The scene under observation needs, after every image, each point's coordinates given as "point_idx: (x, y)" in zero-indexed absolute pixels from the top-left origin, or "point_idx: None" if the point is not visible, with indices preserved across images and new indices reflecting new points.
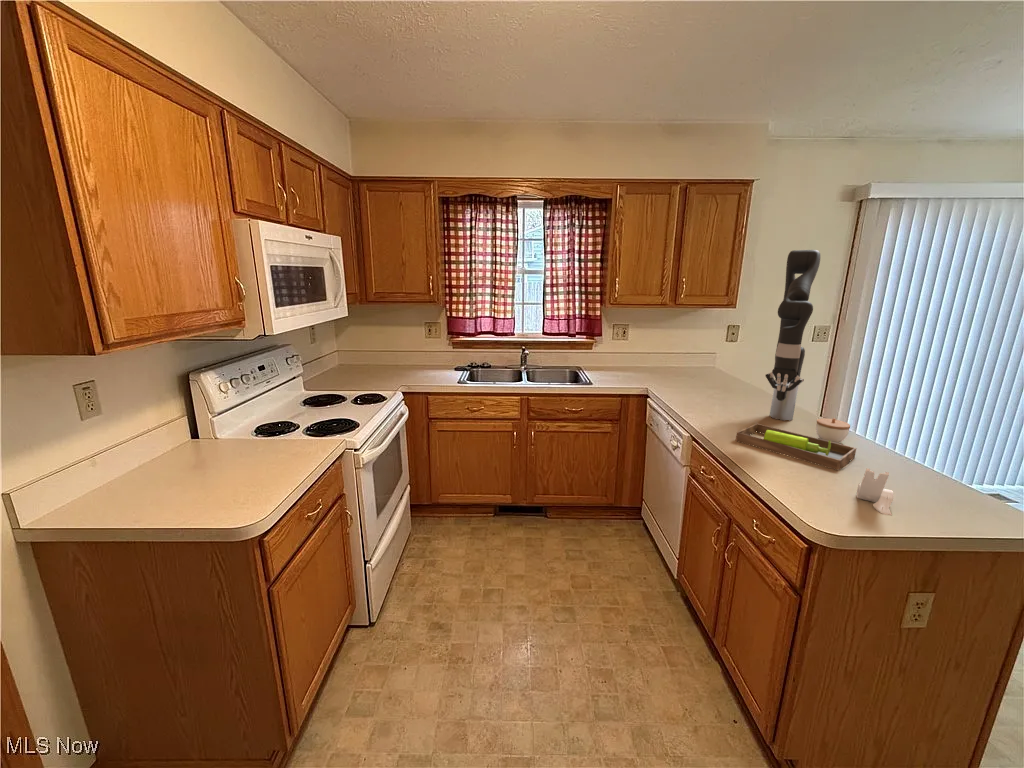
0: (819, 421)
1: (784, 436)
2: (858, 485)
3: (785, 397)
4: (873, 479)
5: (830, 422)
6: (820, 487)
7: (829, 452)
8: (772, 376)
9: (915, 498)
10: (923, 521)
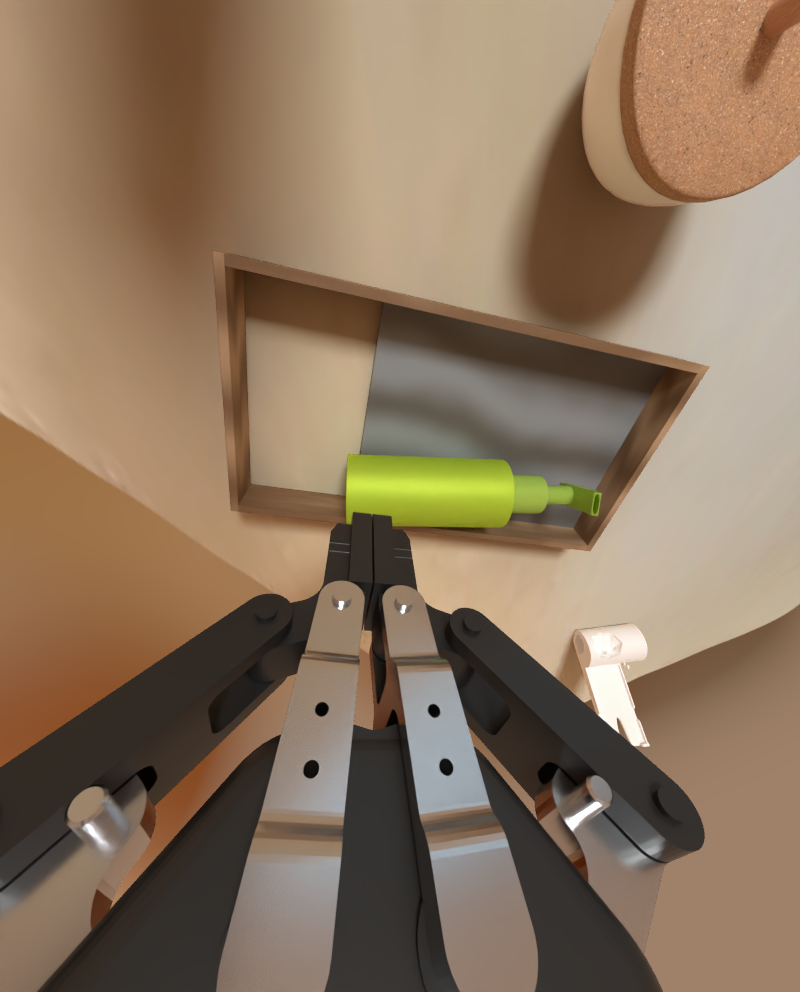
0: (646, 103)
1: (424, 525)
2: (588, 647)
3: (406, 551)
4: (614, 718)
5: (738, 68)
6: (512, 638)
7: (583, 391)
8: (137, 850)
9: (697, 577)
10: (655, 650)
